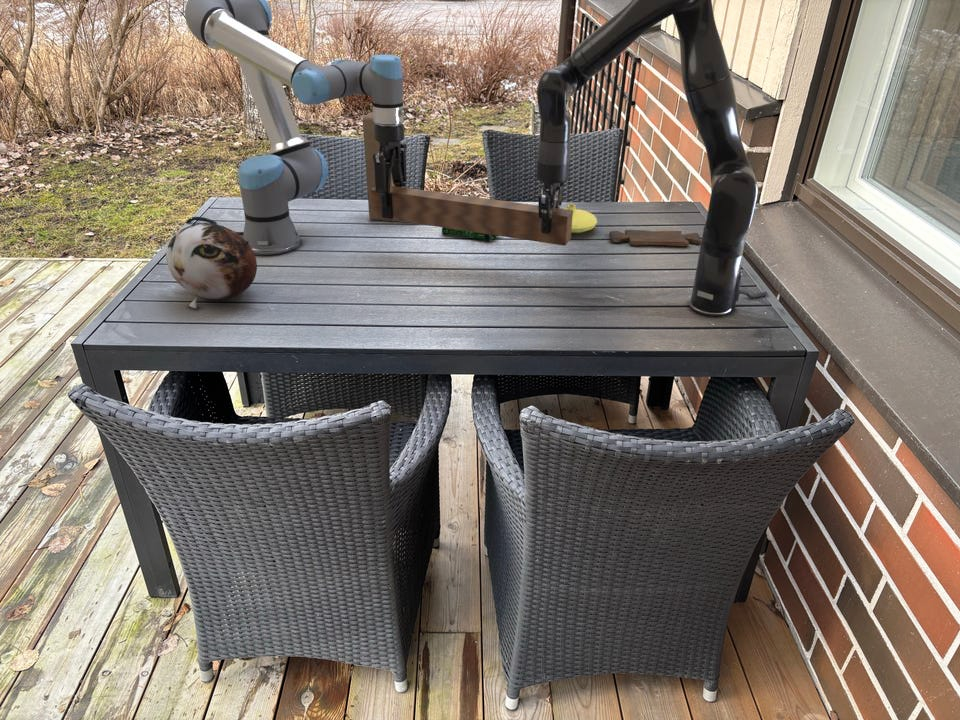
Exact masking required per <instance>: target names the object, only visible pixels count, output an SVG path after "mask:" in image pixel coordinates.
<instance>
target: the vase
mask: <svg viewBox="0 0 960 720" xmlns="http://www.w3.org/2000/svg"><path fill="white" fill-rule="evenodd" d="M566 209H568V210H573V217H572V229H571V234H580V233H584V232H585V233H586V232H587V231H591V230H592V229H594V228H596V226H597V223H598V219H597V217H596V215H595V214H593V213H591V212H589V211H587V210H584V209H578V208H576V205H575V204H571V203H570V204H567V208H566Z"/></svg>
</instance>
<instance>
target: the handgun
mask: <svg viewBox="0 0 960 720" xmlns="http://www.w3.org/2000/svg"><path fill="white" fill-rule="evenodd" d="M441 235H446V236H454V237H462V238H469V239H470V238H471V239H474V240H479V241H484V242H491V241H492V240H494V239H495V238H497V237H498V236H496V235H490V234H483V233H476V232H470V231H463V230H456V229H450V228H443V227H441Z"/></svg>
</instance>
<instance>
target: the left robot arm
mask: <svg viewBox="0 0 960 720" xmlns="http://www.w3.org/2000/svg"><path fill="white" fill-rule="evenodd" d="M184 19H185V23H186V25H187V27H188V29H189V31H190V32H191V34H192V35H193V36H194V38H196V39H197V40H198V41H200V42H201V43H202V44H204V45H206V46H208V47H209V48H211V49H213V50H215V51H219V50H224V51H225V52H227V53H229V54H230V55H232V56H234V57H236V58H237V61H238V64H239V67H240V69H241V72H242V74H243V76H244V79H245V82H246V83H247V87H248V90H249V92H250V95H251V97H252V100H253V102H254V105H255V107H256V111H257V113H258V115H259V118H260V121H261V123H262V125H263V128H264V130H265V133H266V135H267V138H268V141H269V143H270V148H269V151H268V154H261V155H254V156H251V157H249V158H246V159H244V160H243V161H242V162H241V163H240V164H239V166H238V168H237V174H238V180H237V181H238V185H239V190H240V196H241V201H242V208H243V212H244V213H243V215H244V219H245V220H244V226H243V228H244V229H243V231H235V232H236V233H237V234H239V235H240V236H242V237H243V238H244V239H245V240H246V241H249V242H248V244H249V245H250V247H251V248H252V250H253V252H254V254H255V256H256V255H257V256H275V255H281V254H282V255H283V254H285V253H289V252H291V251H293V250H296V249H297V248H298V247H299V246H300V244H301V241H300V235H299V233H298V231H297V229H296V227H295V225H294V223H293V220H292V218H291V216H290V207H289V202H292V201H294V200H297V199H299V198H302V197H305V196H308V195H310V194H313V193H315V192H317V191H319V190H321V188H323V186H325V184H326V181H327V179H328V173H329V170H328V169H329V168H328V163H327V161H326V158H325V157H324V155H323V153H322V152H320V151H319V149H317V148H314V147H312V146H311V145H312V144H311V142H310V140H309V139H307V138H305V137H303V136H302V133H301V131H300V129H299V126H298V123H297V121H296V118H295V115H294V113H293V110H292V108H291V104H290V102H289V99H288V97H287V94H286V91H285V88H284V86H283V84H284V85H286V86H287V87H289V88H291V90H292V92H293V95H294V96H295V97H296V98H297V100H298V101H299V102H300V103H301V104H303V105H305V106H306V105H307V106H310V105H320V104H323V103H326V102H330V101H333V100H337V99H342V98H345V97H349V96H353V95H359V96H367V97H371V103H372V112H373V122H374V123H375V124H374V138H375V140H376V141H378V142H379V153H378V154H373V160H374V167H375V188H376V193H380V194H381V201H382V217H383V218H389V219H392V218H393V208H392V193H390V184H391V173H392V179H393V184H394V185H395V187H403V188H407V183H406V182H407V181H408V177H407V174H408V173H407V144H406V143H403V142H402V141H404V140H405V136H406V135H405V125H404V121H405V118H404V117H405V116H404V115H405V110H404V74H403V65H402V60H401V58H400V57H399V55H395V54H373V55H372V56H371V57H370V58H369V62H366V61H365V62H364V61H356V60H351V59H348V58H346V59H334V60H333V61H332V63H331V64H328V65H323V66H321V65H318V64H316V63H314V62H313V61H311V60H308V59H307V58H306V57H304V56H302V55H300V54H298V53H296V52H295V51H292V50H291V49H290V48H287V47H286V46H283V44H280V43H278V42H276V41H275V40H274V39H271V37H272V36H271V35H270V32H269V31H270V30H271V28H272V24H273V23H272V20H273V16H272V11H271V8H270V6H269V3H268V1H267V0H187V1H186V4H185V7H184ZM385 162H387V163H385ZM191 218H192V219H191ZM193 221H202V222H207V223H208V224H216V225H218V224H217V222H216V221H215V220H213V219H211V218H207V217H204V216H192V217H189V218H188V219H187V220H186V221H185V224H190V223H191V222H193Z"/></svg>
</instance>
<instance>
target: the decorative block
mask: <svg viewBox="0 0 960 720" xmlns="http://www.w3.org/2000/svg"><path fill="white" fill-rule="evenodd" d="M374 124H375V123H374V122H373V111H371V112H368V113H367V114H366V115H364V116H363V117H362V132H363V133H362V134H363V146H364V147H363V148H364V161H365V174H366V175H365V176H366V189H367V191H366V192H367V205H368V206H367V207H368V217H369V220H373V221H388V222H397V221H396V220H390V219H383V218H376V217H372V205H371V189H372V188H374V187H375V167H374V160H373V154H378V153H379V142H378V141H376V140H375V138H374ZM385 163H387V162H385ZM390 186H395V185H394V184H393V179H392V173H391V184H390ZM401 222H403V221H401ZM403 223H404V222H403Z"/></svg>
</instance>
